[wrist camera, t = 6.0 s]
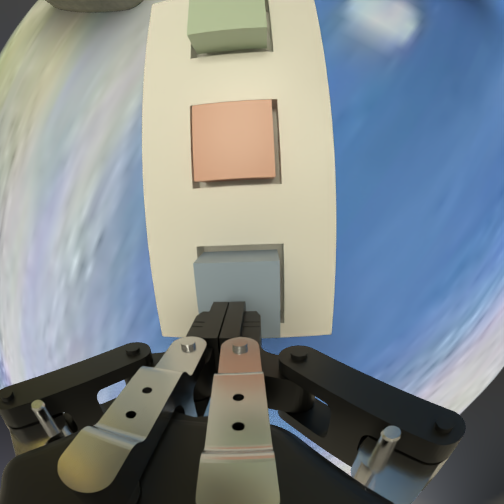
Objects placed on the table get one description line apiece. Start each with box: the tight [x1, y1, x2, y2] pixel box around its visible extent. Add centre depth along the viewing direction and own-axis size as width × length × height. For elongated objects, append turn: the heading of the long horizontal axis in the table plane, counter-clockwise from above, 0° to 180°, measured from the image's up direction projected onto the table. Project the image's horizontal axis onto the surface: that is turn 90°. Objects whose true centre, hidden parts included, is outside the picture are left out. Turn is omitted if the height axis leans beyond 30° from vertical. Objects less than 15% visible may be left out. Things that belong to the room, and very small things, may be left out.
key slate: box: [193, 249, 280, 338], centre depth 16 cm, size 5×5×3 cm
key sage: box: [187, 0, 267, 54], centre depth 13 cm, size 5×5×3 cm
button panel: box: [142, 0, 336, 337], centre depth 18 cm, size 12×26×4 cm, turn 2°
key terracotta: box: [192, 99, 276, 182], centre depth 16 cm, size 5×5×3 cm
